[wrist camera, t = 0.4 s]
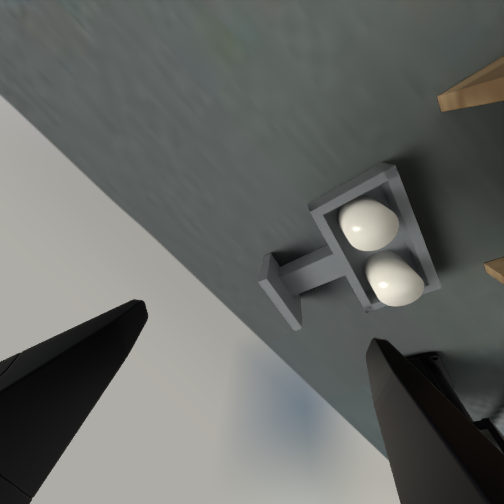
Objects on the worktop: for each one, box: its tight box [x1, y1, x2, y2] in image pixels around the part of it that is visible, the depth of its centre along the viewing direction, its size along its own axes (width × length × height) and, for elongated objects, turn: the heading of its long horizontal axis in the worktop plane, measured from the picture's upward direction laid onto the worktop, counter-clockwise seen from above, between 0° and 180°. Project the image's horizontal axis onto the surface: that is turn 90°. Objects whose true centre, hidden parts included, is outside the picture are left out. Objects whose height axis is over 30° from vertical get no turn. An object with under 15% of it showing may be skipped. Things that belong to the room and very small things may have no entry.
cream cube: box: [363, 251, 424, 306], centre depth 17 cm, size 3×3×3 cm
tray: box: [258, 162, 442, 331], centre depth 18 cm, size 11×12×4 cm
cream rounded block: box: [337, 195, 399, 251], centre depth 16 cm, size 3×3×3 cm
